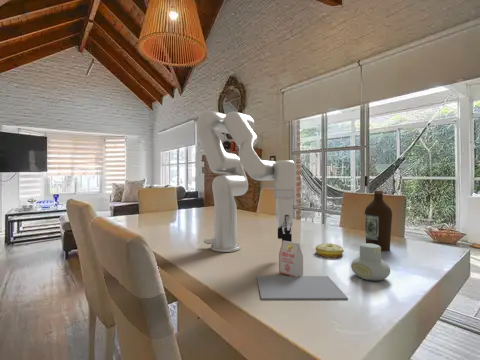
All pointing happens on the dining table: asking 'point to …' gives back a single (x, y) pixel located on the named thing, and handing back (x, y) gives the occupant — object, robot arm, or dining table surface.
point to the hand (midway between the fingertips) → (284, 241)
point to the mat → (299, 288)
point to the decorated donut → (329, 250)
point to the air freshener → (370, 263)
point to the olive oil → (378, 222)
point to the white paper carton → (291, 259)
